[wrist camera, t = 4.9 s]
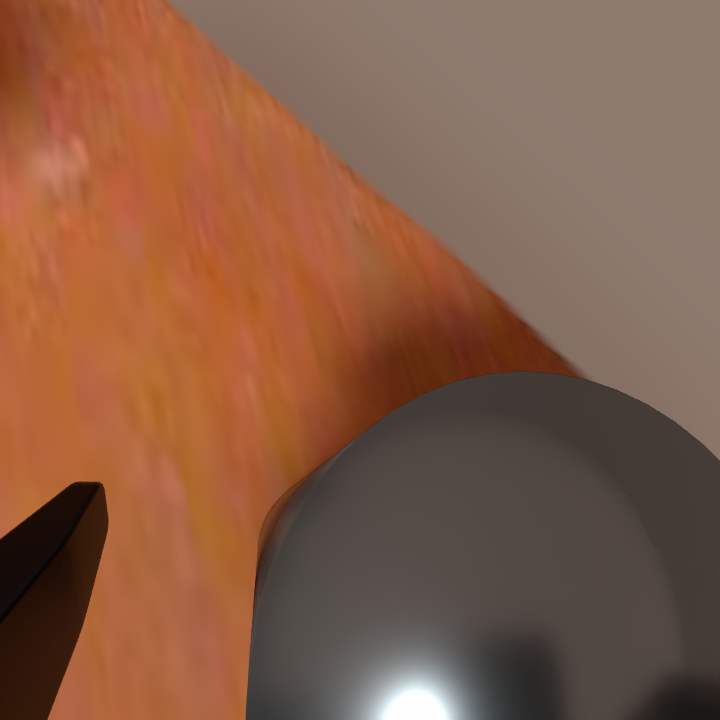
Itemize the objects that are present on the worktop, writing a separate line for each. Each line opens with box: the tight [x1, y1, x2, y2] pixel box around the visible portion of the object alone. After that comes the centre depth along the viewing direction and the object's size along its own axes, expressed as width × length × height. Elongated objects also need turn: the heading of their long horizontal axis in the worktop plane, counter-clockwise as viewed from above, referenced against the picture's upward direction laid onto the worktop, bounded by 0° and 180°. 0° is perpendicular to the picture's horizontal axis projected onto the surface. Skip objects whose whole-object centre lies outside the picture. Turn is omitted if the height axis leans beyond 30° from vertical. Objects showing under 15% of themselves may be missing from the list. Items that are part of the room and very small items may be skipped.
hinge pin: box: [246, 371, 720, 720], centre depth 9 cm, size 4×4×13 cm
